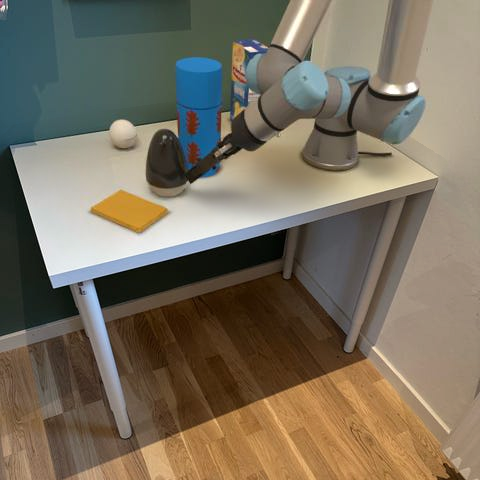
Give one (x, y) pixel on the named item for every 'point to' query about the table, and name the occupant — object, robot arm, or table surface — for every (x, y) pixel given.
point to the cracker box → (243, 74)
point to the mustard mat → (129, 210)
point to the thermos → (199, 108)
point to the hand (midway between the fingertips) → (189, 178)
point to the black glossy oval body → (166, 164)
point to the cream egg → (123, 133)
